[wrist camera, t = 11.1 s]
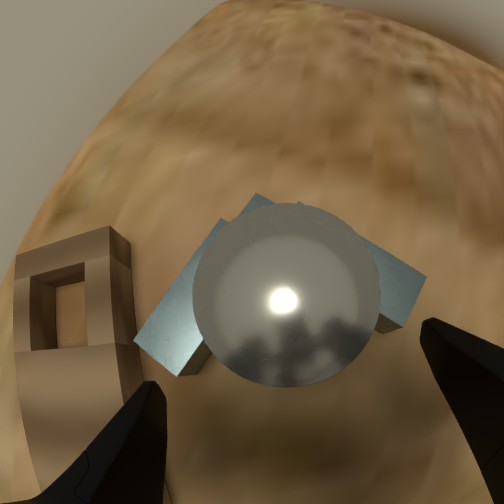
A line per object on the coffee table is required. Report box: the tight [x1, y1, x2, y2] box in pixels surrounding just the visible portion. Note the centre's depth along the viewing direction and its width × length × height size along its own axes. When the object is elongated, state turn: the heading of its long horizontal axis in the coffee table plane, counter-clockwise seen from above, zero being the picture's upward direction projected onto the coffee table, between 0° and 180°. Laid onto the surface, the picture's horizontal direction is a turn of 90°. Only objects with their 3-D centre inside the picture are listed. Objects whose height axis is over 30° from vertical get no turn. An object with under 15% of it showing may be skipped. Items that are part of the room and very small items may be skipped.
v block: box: [133, 193, 426, 377], centre depth 17 cm, size 9×16×4 cm, turn 101°
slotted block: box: [13, 226, 171, 504], centre depth 16 cm, size 19×9×3 cm, turn 11°
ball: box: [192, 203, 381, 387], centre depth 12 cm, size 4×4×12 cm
